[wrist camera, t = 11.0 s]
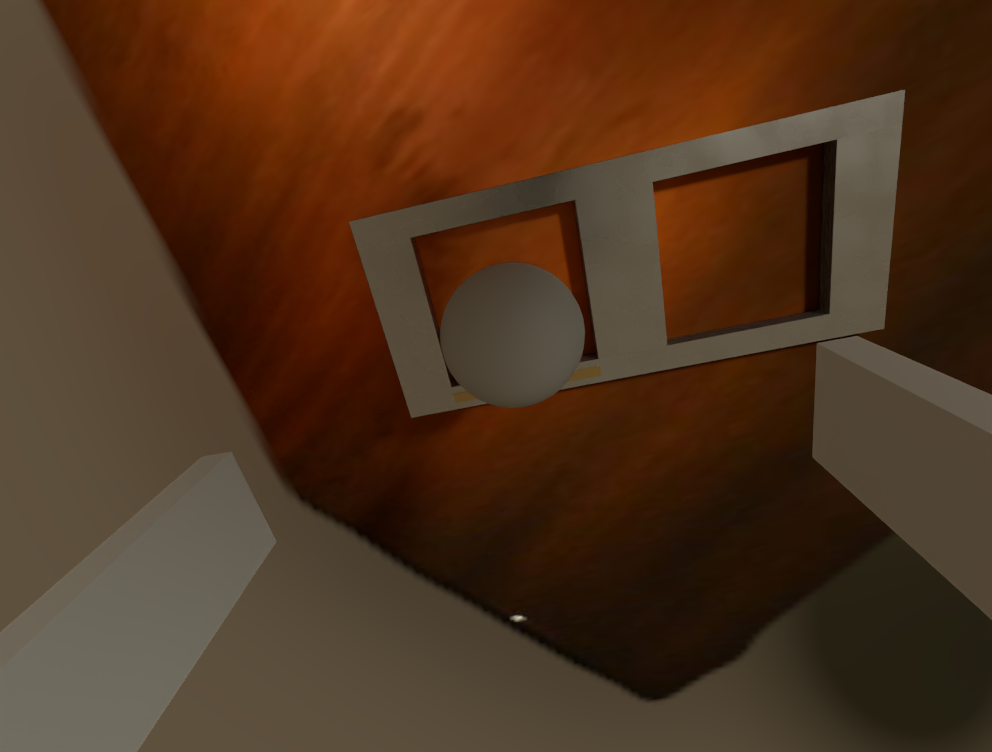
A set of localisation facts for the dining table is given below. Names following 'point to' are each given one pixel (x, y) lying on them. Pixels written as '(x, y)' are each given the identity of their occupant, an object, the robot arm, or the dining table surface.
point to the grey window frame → (655, 250)
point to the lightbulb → (512, 335)
